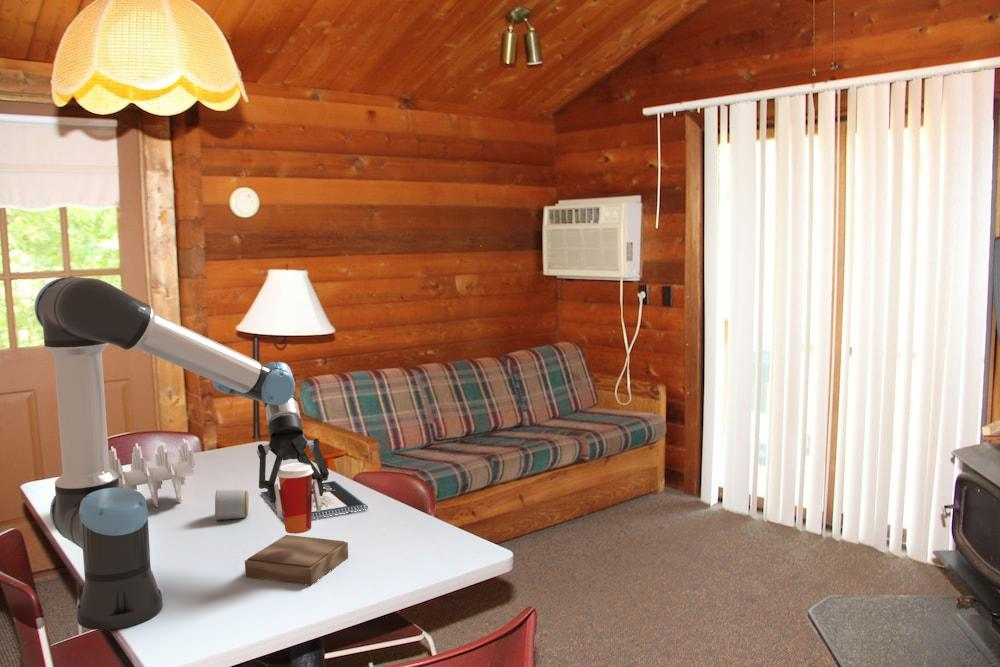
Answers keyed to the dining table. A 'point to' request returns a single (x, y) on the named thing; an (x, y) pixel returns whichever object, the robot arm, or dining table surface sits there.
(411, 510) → the dining table surface
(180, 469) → the white spiked piece
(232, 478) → the dining table surface
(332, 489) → the sketchbook
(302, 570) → the walnut plinth
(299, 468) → the paper cup
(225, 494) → the grey cylinder
